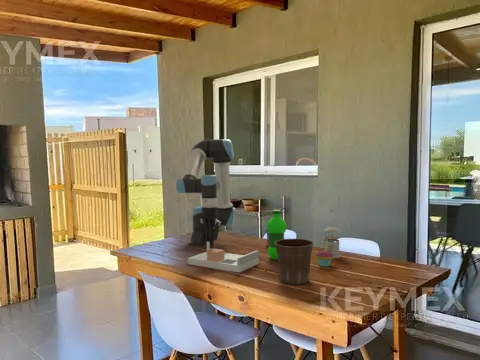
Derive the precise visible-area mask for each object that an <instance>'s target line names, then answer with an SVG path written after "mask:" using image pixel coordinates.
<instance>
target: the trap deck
mask: <svg viewBox="0 0 480 360" xmlns="http://www.w3.org/2000/svg"><path fill="white" fill-rule="evenodd" d="M259 254H260V251H259V250H254V251H251V252H250V253H246V254H245V255H242V254H237V253H235V254H234V253H230V252H229V253H227V252H224V259H223V260H220V261H218V262H216V261H209V260H207V251H204V252H201V253H198V254H196V255H193V256H190V257H187V265H190V266H191V265H192V266H197V267H198V266H199V267H204V268H210V269H216V270H222V271H228V272H234V273H242V272H244V271H247V270H249V269H250V268H252V267H255V266H256V265H259V263H260V262H259V261H260V260H259V259H260V256H259Z"/></svg>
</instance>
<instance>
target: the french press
mask: <svg viewBox="0 0 480 360" xmlns="http://www.w3.org/2000/svg"><path fill="white" fill-rule="evenodd" d="M329 211H330V212H334V211H335V210H334V209H333V208H331V209H329ZM323 231H324V232H323V234H322V236H324V239H323V240H322V242H323V244H324V246H323V247H324V249H323V251H325V247H326V242H327V251H329V252H331V253H332V254H333V259H338V258H341V257H342V255H341V254H340V239H339V237H338V236H333V235H329V233H339V232H340V229H339V228H337V227H335V226H334V227H333V226H330V227H326V228H325V229H323ZM324 234H325V235H324ZM326 235H328V236H326Z"/></svg>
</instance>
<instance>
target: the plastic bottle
mask: <svg viewBox="0 0 480 360" xmlns="http://www.w3.org/2000/svg"><path fill="white" fill-rule="evenodd" d="M272 215H273V217H271V218H270V220H268V221H267V224H266V228H267V231H268V232H269V246H268V248H267V254H268V256H269V257H270V258H271V259H272V260H277V261H278V255H277V252H276V245H275V244H274V243H275V241H278V240H282V239H285V232H286V231H287V222H286V221H285V220H284V219H283V218H282V217H281V209H273V210H272Z"/></svg>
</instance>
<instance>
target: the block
mask: <svg viewBox="0 0 480 360" xmlns="http://www.w3.org/2000/svg"><path fill="white" fill-rule="evenodd" d="M206 252H207V260H209V261H216V262H218V261H220V260H223V259H224V253H225V249H223V248H221V249H220V248H212V249H211V250H208V251H207V250H206Z"/></svg>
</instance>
